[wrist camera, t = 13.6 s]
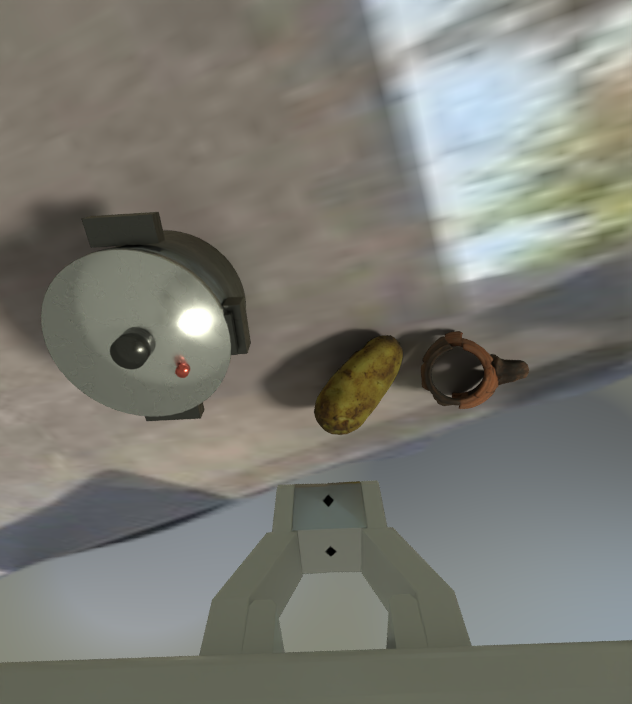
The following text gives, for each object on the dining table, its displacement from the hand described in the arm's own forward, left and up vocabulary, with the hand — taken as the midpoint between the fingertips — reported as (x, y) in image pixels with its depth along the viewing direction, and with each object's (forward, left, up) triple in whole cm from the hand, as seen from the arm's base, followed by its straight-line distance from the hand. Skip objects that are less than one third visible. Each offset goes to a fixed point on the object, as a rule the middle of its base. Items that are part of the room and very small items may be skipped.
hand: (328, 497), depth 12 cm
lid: (+5, -17, -24) cm, 30 cm away
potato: (+16, +4, -35) cm, 38 cm away
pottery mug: (+15, +18, -35) cm, 42 cm away
